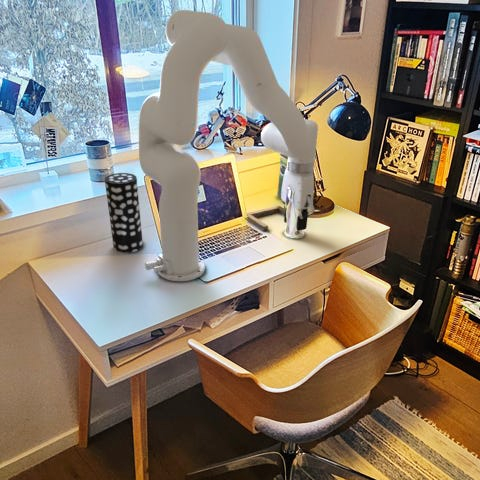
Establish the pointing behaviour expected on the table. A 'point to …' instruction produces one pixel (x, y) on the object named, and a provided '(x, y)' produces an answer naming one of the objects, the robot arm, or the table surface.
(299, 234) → the beer glass
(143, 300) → the table surface
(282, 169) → the coffee jar
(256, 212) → the walnut bay
